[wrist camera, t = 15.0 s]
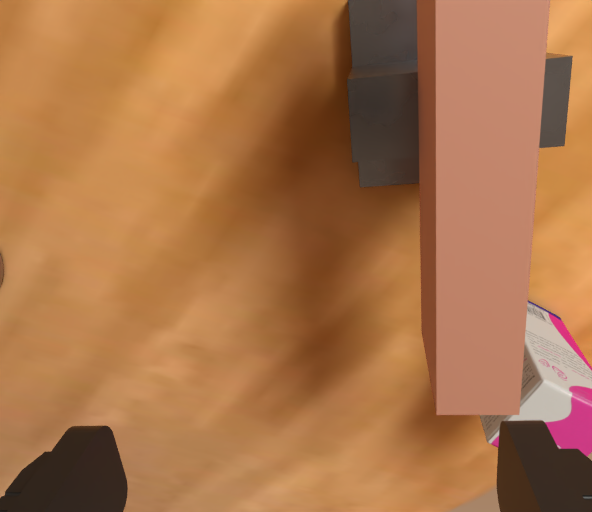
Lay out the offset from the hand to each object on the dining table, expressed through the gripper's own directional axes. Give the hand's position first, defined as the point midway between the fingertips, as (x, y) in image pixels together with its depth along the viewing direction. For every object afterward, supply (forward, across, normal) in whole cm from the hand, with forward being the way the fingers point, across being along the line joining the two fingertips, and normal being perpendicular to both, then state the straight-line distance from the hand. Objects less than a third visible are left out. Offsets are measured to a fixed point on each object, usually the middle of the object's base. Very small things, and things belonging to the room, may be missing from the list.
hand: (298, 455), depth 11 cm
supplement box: (+29, -12, +14) cm, 35 cm away
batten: (+18, -6, -4) cm, 19 cm away
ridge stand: (+29, -6, -4) cm, 30 cm away
